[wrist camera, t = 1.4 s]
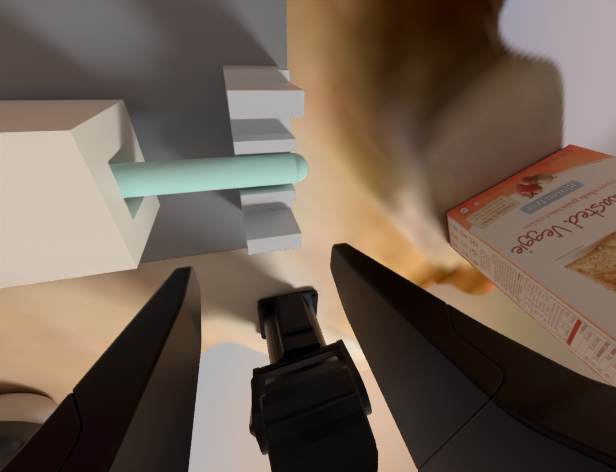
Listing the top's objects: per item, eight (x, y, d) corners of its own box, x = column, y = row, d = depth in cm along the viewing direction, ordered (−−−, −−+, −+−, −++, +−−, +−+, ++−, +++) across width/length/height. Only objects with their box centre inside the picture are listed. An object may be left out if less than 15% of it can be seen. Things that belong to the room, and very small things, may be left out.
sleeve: (160, 205, 16) (137, 268, 12) (46, 216, 15) (-31, 292, 10) (123, 99, 13) (69, 130, 8) (-30, 100, 11) (-199, 138, 7)
